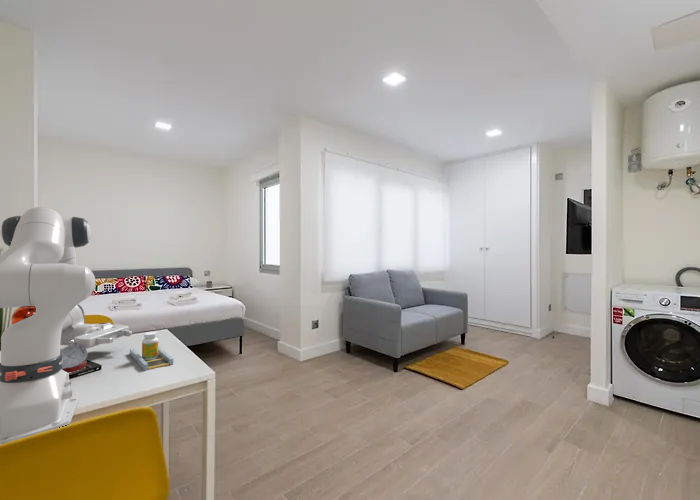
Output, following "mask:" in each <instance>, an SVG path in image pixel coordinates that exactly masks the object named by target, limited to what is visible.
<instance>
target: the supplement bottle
mask: <svg viewBox="0 0 700 500" xmlns="http://www.w3.org/2000/svg"><path fill="white" fill-rule="evenodd" d="M143 336H144V338H143V339H142V341H141V357H142V358H143V359H144V360H145V361H151V360H156V359H158V358H159V355H158V346H159V338H158V337H157V332H155V331H150V332H144V335H143Z"/></svg>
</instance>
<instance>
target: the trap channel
mask: <svg viewBox="0 0 700 500" xmlns="http://www.w3.org/2000/svg"><path fill="white" fill-rule="evenodd" d="M129 355H130V356H131V357H132V358H133V359H134V360H135V362H136V363H137V364H138V365H139V366H140V367H141V369H142V370H143V371H148V370H151V369H156V368H162V367H165V365H166V366H170V365H171V364H172V365H174V358H173V357H172V356H171V355H170V354H168V353H167V352H166V351H165V350H164V349H163V348H161V347H160V346H159V345H158V356H159V355H160V356H159V357H160V358H156V359H152V360H144V359H143V358H142V355H141V354H140V353H139V352H138V351H137V350H136V349H135V348H133V347H132V348H129ZM169 364H170V365H169ZM161 366H162V367H161Z"/></svg>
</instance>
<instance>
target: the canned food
mask: <svg viewBox="0 0 700 500" xmlns="http://www.w3.org/2000/svg"><path fill="white" fill-rule="evenodd" d="M60 353H61V354H62V358H63V362H62V370H64V371H65V372H73V371H77V370H80V369H82V368H84V367H85V366H86V365H88V364H87V363H88V361H87V358H88V353H89V352H88V350H87V348H85V347H84V346H82V345H78V344H75V345H70V346H65V347H63V348H60Z"/></svg>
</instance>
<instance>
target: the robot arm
mask: <svg viewBox="0 0 700 500" xmlns="http://www.w3.org/2000/svg"><path fill="white" fill-rule="evenodd" d="M91 237H92V228H91V226H90V224H89V222H88V221H87V220H86V219H85V218H82V217H78V216H72V217H69V216H62V215H61V214H60V213H59V212H58V211H56V210H55V209H52V208H49V207H46V206H45V207H44V206H38V207H33V208H29V209H28V210H26V211H25V212H24V213H23V214H22V215H15V216H10V217H8V218H6V219H4V220H3V221H2V225H1V227H0V238H1V239H2V240H3V242H4V244H5V245H6V246H8V249H6V250H5V251H4V252H3V253H2V254H0V309H7V308H9V309H10V308H19V307H20V308H21V307H22V308H23V307H27V306H35V307H36V312H35V314H34V315H32V316H30V317H28V318H26V317H25V318H23V319H21V320H19V321H17V322H15V323H12V324H11V325H10V326H8V327H7V328H5V330H4V331H3V332H2V334H1V337H0V343H1V344H0V444H3V443H6V442H9V441H13V440H17V439H20V438H24V437H27V436H31V435H34V434H37V433H40V432H44V431H47V430H51V429H55V428H58V427H61V428H63V427H62V426H64V427H65V425H66V426H67V425H70V423H71V422H72V419H73V416H74V414H75V412H76V409H77V406H78V404H79V397H78V396H73V389H70V386H71V385H72V381H71V380H70V376H69V373H67V372H65V371H64V370H62V362H63V358H62V354H61V353H60V350H61V346H65V347H67V346H70V345H75V344H78V345H82V346H84V347H85V348H86V349H90V348H94V347H96V346H99V345H104V344H111V343H114V340H116V339H119V338H122V337H130V336H133V331H131V330H130V327H129V326H128V325H126V324H116V323H114V324H113V323H112V324H111V322H102V323H101V322H100V323H85V322H86V318H85V312H84V309H83V307H82V306H81V305H80V303H82V302H83V301H85V300H86V299H88V298H89V297H90V296H91V295H92V294H93V292H94V290H95V287H96V276H95V274H94V273H93V271H92V270H91V269H90V268H89V267H88V266H87V265H82V264H81V265H80V264H77V261H78V260H77V253H76V248H81V247H84V246H87V245H88V244H89V243H90V240H91ZM3 445H4V444H3Z"/></svg>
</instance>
